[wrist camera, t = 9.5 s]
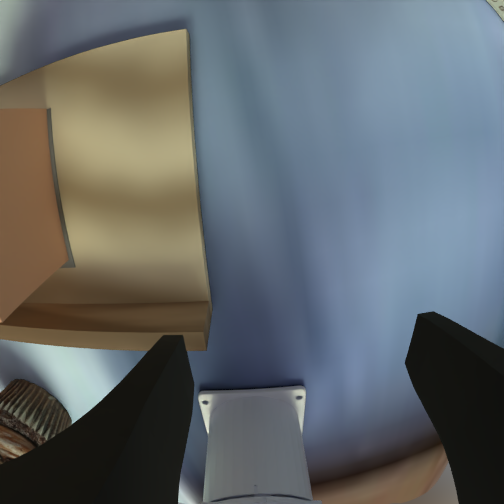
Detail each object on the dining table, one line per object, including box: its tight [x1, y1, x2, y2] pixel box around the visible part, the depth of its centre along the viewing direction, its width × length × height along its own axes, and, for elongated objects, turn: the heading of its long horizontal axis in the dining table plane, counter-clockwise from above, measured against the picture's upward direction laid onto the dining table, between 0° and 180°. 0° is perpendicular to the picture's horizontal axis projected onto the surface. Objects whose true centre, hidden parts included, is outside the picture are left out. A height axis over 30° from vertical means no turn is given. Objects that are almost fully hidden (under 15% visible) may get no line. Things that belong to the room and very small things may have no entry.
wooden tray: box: [0, 29, 213, 351], centre depth 14 cm, size 16×18×4 cm
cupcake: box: [0, 379, 72, 464], centre depth 19 cm, size 10×10×10 cm
